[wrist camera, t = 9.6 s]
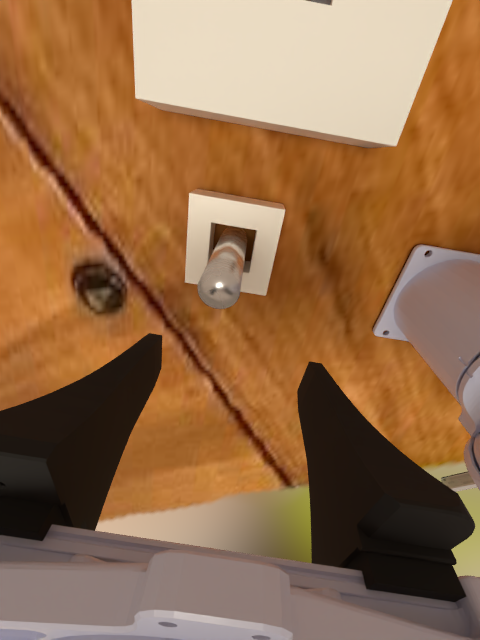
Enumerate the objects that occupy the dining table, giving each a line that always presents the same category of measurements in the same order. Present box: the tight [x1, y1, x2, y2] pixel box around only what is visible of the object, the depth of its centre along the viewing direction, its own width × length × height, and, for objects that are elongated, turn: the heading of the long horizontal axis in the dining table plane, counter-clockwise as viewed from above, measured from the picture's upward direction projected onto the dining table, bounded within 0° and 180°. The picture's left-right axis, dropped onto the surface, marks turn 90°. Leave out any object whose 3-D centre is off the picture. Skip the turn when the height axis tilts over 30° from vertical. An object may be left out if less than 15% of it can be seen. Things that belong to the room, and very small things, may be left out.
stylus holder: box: [185, 189, 285, 296], centre depth 19 cm, size 6×6×2 cm
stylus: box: [198, 226, 247, 309], centre depth 16 cm, size 2×2×9 cm
